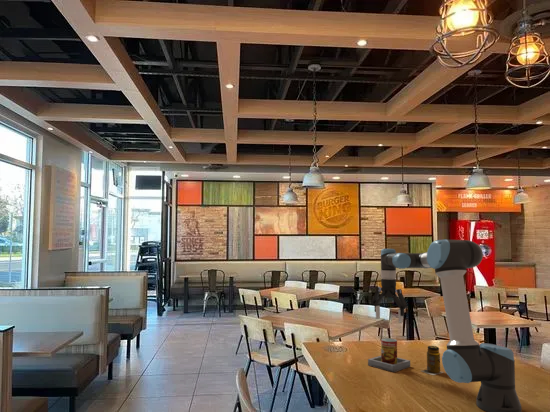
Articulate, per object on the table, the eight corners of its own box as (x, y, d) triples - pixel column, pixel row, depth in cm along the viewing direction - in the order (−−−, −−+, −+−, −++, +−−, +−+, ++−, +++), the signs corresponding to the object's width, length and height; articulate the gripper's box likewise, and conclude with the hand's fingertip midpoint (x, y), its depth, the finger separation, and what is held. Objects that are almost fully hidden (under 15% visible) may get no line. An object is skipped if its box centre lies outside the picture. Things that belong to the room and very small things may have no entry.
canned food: (379, 364, 209) (379, 340, 211) (383, 361, 216) (383, 337, 217) (395, 367, 206) (395, 342, 207) (398, 363, 213) (398, 339, 214)
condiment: (444, 372, 201) (443, 347, 202) (433, 375, 197) (432, 349, 198) (431, 368, 207) (430, 344, 208) (420, 371, 203) (419, 346, 204)
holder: (393, 372, 200) (393, 365, 201) (368, 365, 212) (368, 359, 212) (410, 366, 210) (410, 360, 211) (385, 360, 222) (385, 354, 222)
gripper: (414, 280, 208) (415, 323, 206) (372, 276, 227) (373, 316, 225) (406, 280, 203) (406, 324, 201) (364, 277, 222) (364, 317, 220)
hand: (389, 320), depth 213 cm, fingers open, 13 cm apart
